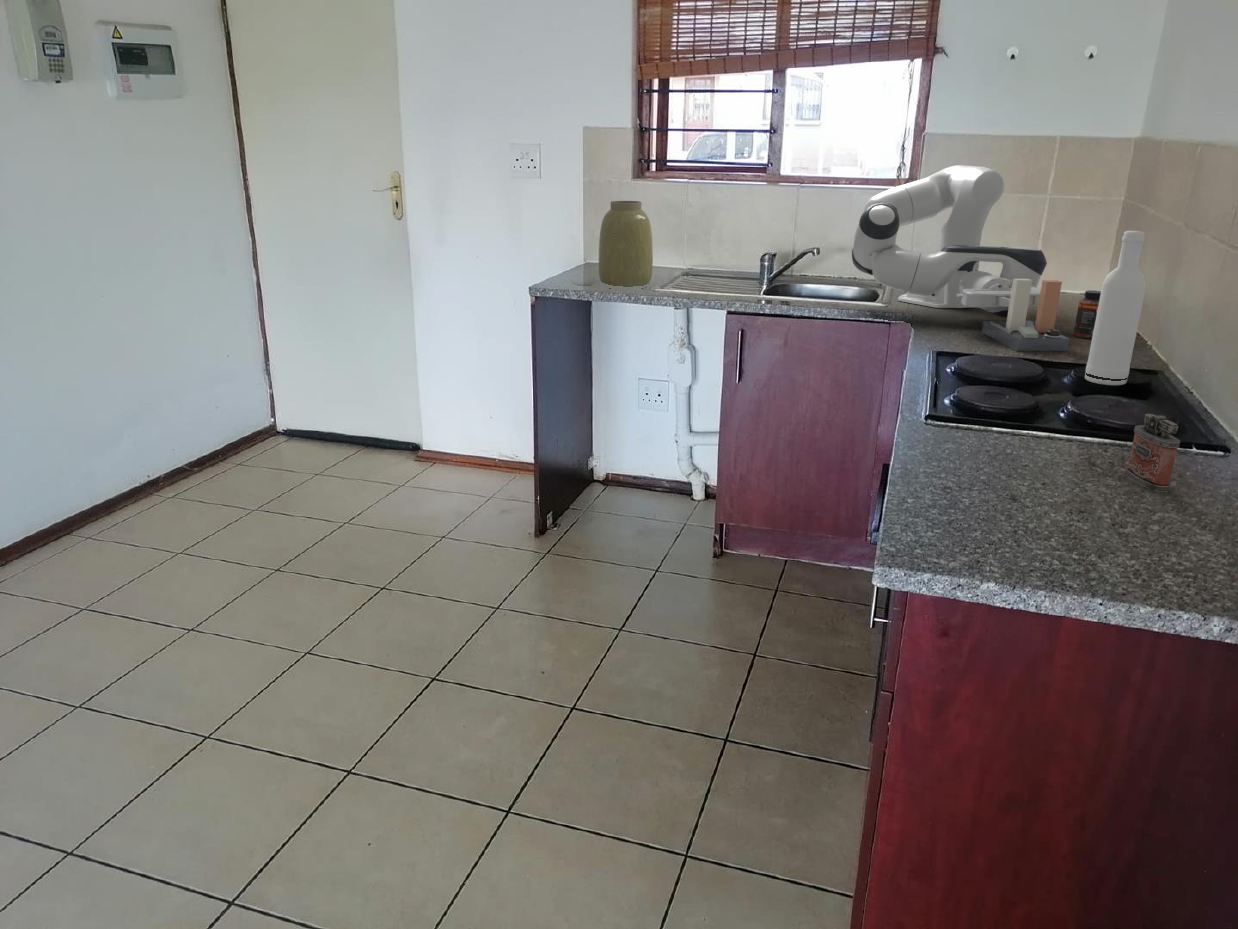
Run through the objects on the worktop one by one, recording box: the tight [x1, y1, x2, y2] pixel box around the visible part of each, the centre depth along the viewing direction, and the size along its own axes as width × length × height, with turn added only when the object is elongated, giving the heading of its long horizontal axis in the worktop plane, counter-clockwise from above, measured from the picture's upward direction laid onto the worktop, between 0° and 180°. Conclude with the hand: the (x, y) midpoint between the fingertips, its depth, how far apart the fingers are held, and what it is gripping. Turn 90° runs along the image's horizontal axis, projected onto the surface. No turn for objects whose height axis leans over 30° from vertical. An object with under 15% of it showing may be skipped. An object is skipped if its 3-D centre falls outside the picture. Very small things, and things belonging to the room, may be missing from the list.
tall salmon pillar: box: [1035, 279, 1063, 332], centre depth 215 cm, size 2×4×12 cm
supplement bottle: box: [1073, 289, 1101, 339], centre depth 225 cm, size 6×6×11 cm
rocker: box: [1018, 327, 1039, 338], centre depth 212 cm, size 4×3×1 cm
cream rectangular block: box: [1006, 279, 1032, 331], centre depth 217 cm, size 2×4×12 cm
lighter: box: [1124, 413, 1181, 493], centre depth 132 cm, size 8×3×10 cm, turn 5°
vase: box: [598, 200, 654, 289], centre depth 286 cm, size 17×17×27 cm
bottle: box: [1084, 230, 1147, 386], centre depth 182 cm, size 8×8×30 cm
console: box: [981, 319, 1070, 352], centre depth 221 cm, size 21×12×4 cm, turn 0°
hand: (1016, 304), depth 219 cm, fingers closed
